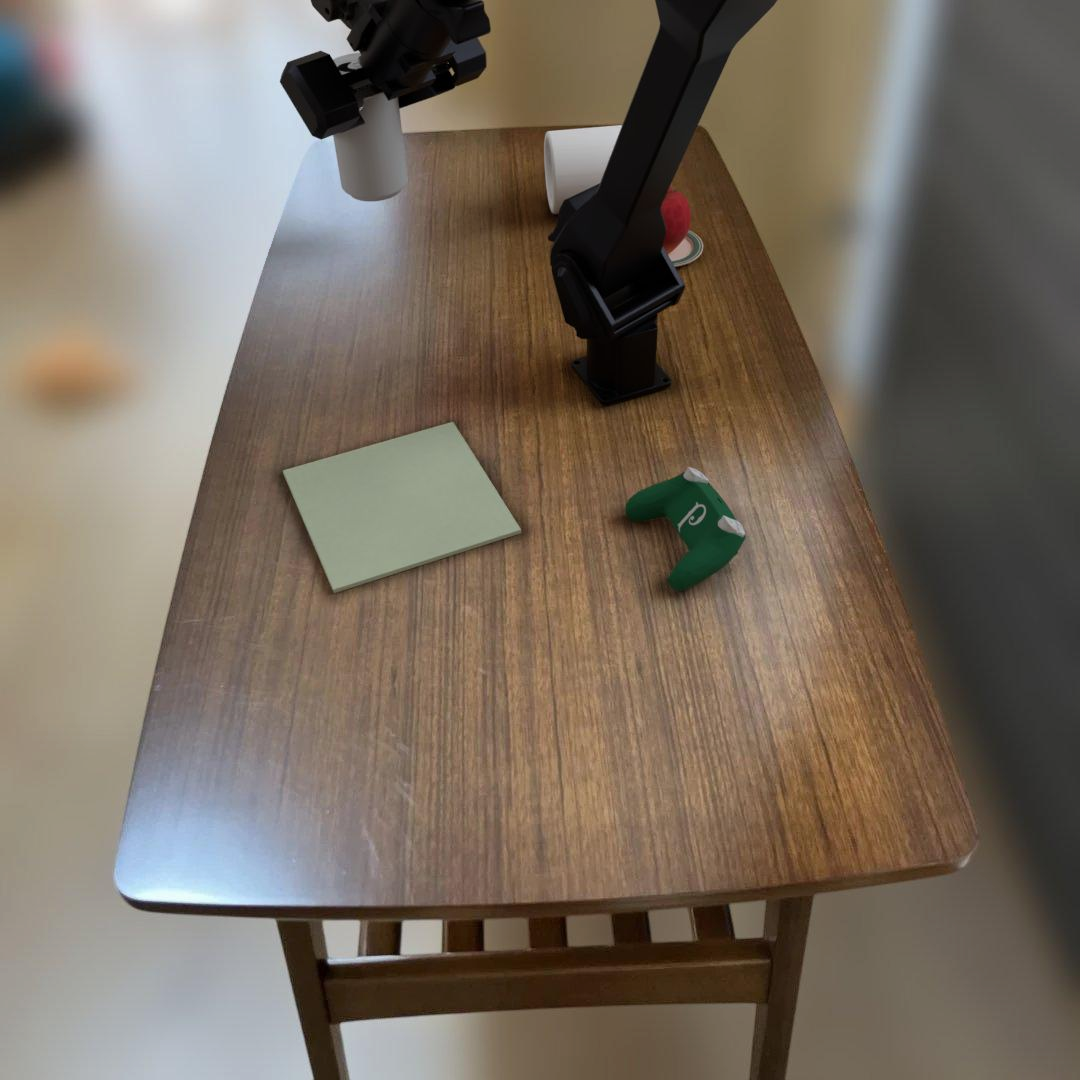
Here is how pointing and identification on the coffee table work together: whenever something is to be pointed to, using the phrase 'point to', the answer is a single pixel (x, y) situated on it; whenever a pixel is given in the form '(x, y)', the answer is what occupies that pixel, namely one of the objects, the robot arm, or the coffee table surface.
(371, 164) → the beverage can
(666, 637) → the coffee table surface
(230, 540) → the coffee table surface
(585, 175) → the mug
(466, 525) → the felt mat
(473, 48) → the robot arm
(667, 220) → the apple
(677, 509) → the gaming controller
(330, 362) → the coffee table surface
